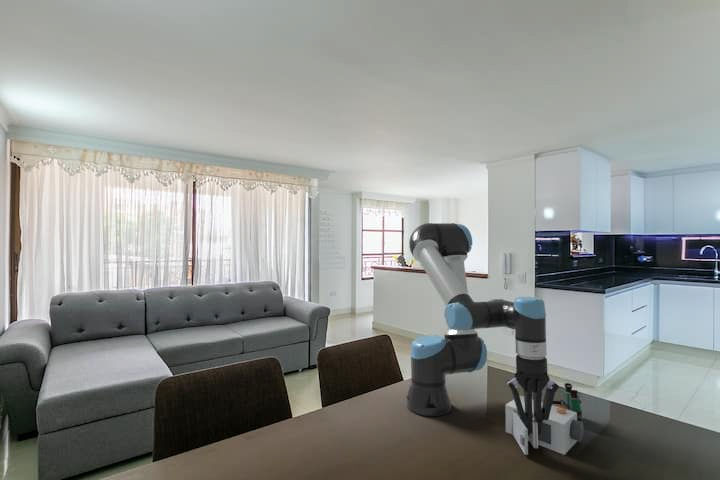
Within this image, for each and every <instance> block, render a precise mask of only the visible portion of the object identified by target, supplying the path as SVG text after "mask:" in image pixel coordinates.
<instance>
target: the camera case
mask: <svg viewBox="0 0 720 480" xmlns="http://www.w3.org/2000/svg"><path fill="white" fill-rule="evenodd" d="M519 396H520V400H521V403H522V406H523V410H524V413H525V403H524V395H522V394H521V395H520V394H519ZM542 405H543V401H541V409H542ZM512 411H516V413H517V415H518V416H519V414H518V411H517V408H516V404H515V401H514V399H512V400H511V401H508V403H506V404H505V433H507V434H510V435H512ZM532 411H533V418H534V409H533V398H532ZM519 418H520V419H521V421H522V422H523V424H524V425H525V427H526V420H525V419H522V418H521V417H520V416H519ZM584 433H585V426H584V423H582V422H580V421H577V412H574V411H570V410H567V409H566V408H565V407H561V406H557V405H555V404H552V407H551V411H550V415H549V419H548V420H543V423H542V424H541V434H538V446H541V447H544V448H545V449H548V450H550V451H554V452H556V453H558V454H561V455H564V456H565V455H567V453H568V452H569V450H571V449H572V448H573V446H575V444H576V443H577V442H579V443H581V442H582V440H583V438H584ZM528 442H530V434H529V433H528Z"/></svg>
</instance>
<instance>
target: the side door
mask: <svg viewBox="0 0 720 480" xmlns="http://www.w3.org/2000/svg"><path fill="white" fill-rule="evenodd" d="M511 435H513V437H514V439H515V440H516V442H517V444H518V445H519V447H520V449H521V450H522V453H523V454H524V455H526V456H528V455H529V441H528V429H527V428H526V427H525V425H524V424H523V422H522V421H521V419H520V418H519V416H518V415H517V413H516V411H512V434H511Z"/></svg>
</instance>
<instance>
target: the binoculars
mask: <svg viewBox="0 0 720 480" xmlns="http://www.w3.org/2000/svg"><path fill="white" fill-rule="evenodd" d="M564 388H565V389H564V390H563V399H559V400H553V403H552V405H560V407H564V409H567V410H570V411H574V412H577V421H580V422H582V423H583V420H582V417H583V414H582V413H583V411H582V407H581V404H582V400H581V399H580V398H579V396H578V390H576V389H573V384H572V383H569V382H566V383H564ZM583 424H584V423H583Z"/></svg>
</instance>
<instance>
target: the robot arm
mask: <svg viewBox="0 0 720 480" xmlns="http://www.w3.org/2000/svg"><path fill="white" fill-rule="evenodd" d="M472 237H473V236H472V234H471V231H470V230H469V228H468V227H466V225H464V224H461V223H456V222H455V223H454V222H452V223H449V222H448V223H446V222H445V223H444V222H442V223H439V222H438V223H436V222H435V223H432V222H426V223H423V224H421V225H419V226H416V228H415V229H414V230H413V231H412V232H411V235H410V237H409V243H408V244H409V245H408V246H409V251H410V253H411V255H412V257H413V259H414V260H415V261H417V262H419V263H420V265H421V267H422V268H423V270H424V271H425V273H426V274H427V276H428V279H429V280H430V281H431V284H432V285H433V286H434V288H435V290H436V291H437V292H438V293H437V294H438V295H439V297H440V298H441V300H442V302H443V303H444V305H445V309H444V312H443V313H444V318H445V319H444V320H445V323H446V326H447V330H446V331H445V332H444V333H443V334H444V337H443V336H441V335H437V334H436V335H435V334H434V335H432V334H429V335H428V334H427V335H423V336H419V337H417V338H415V339H414V340H413V341H412V343H411V348H410V369H411V370H410V377H411V379H410V380H411V382H410V386H409V388H408V392H407V396H406V400H405V401H406V408H407V409H408V410H410V412H412V413H414V414H417V415H420V416H425V417H440V416H445V415H446V414H448V413H449V412H451V410H452V402H451V398H450V396H449V392H448V389H447V388H448V387H447V385H446V380H447V379H446V378H447V377H446V376H447V375H454V374H455V375H456V374H461V373H474V372H476V371H481V370H482V369H483V367H484V366H485V365H486V363H487V361H488V360H487V359H488V351H487V345H486V343H485V341H484V340H483V338H482V337H480V336H478V335H479V334H478V332H477V330H479V329H492V328H508V329H511V330H514V331H515V332H514V333H515V334H514V337H515V338H514V339H515V354H516V356H515V366H516V367H515V369H516V371H515V374H514V378H512V379H507V380H506V385H507V386H508V387H509V389H510V391H511V395H512V398H513V400H514V401H515V404H516V408H517V411H518V414H519V416H520V417H521V418H522V419H525V420H526V428H527V429H528V433H529V434H530V441H529V442H530V444H531V446H532V447H533V448H534V449H539V445H538V434H541V424H542V423H543V420H548V419H549V415H550V411H551V407H552V405H553V404H552V403H553V401H554V398H555V394H556V392H558V389H559V387H560V386H559V385H558V384H557V383H556V382H555V381H553V380H551V378H550V376H549V375H548V358H547V355H548V353H547V328H546V327H547V326H546V325H547V323H546V321H547V319H546V317H547V313H546V308H545V302H544V300H543V298H540V297H534V296H533V297H532V296H519V297H515V298H514V301H509V300H505V299H502V298H500V299H498V298H497V299H496V298H492V299H489V300H488V301H474V300H473V299H472V297H471V296H470V295H469V291H468V282H467V275H466V269H465V261H466V260H467V259H468V257H469V256H468V253H470V252H471V250H472V247H473V238H472ZM518 384H519V385H520V387H521V389H523V390H522V391H523V396H524V403H525V413H524V410H523V406H522V403H521V400H520V394H519V391H518ZM545 387H546V389H545ZM544 389H545V393H544V397H543V401H542V396H543V390H544ZM532 399H533V409H534V418H533V411H532ZM541 402H543V405H542V409H541Z"/></svg>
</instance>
